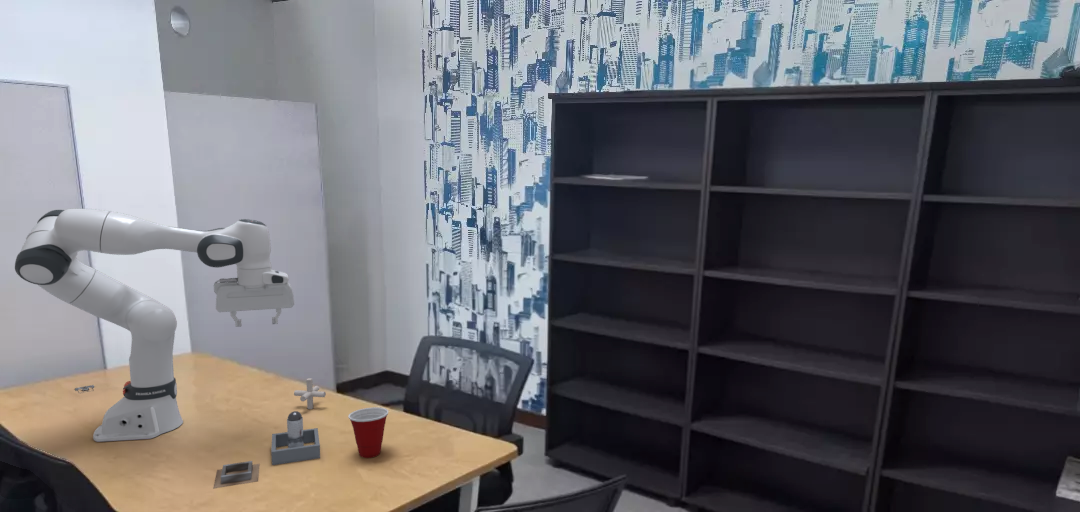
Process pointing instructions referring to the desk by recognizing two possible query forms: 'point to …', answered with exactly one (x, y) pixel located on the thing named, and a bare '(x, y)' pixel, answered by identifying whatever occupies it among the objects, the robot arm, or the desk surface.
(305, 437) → the bin
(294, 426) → the strut
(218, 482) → the socket plate
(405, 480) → the desk surface
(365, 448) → the plastic cup
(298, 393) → the pipe connector
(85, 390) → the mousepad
